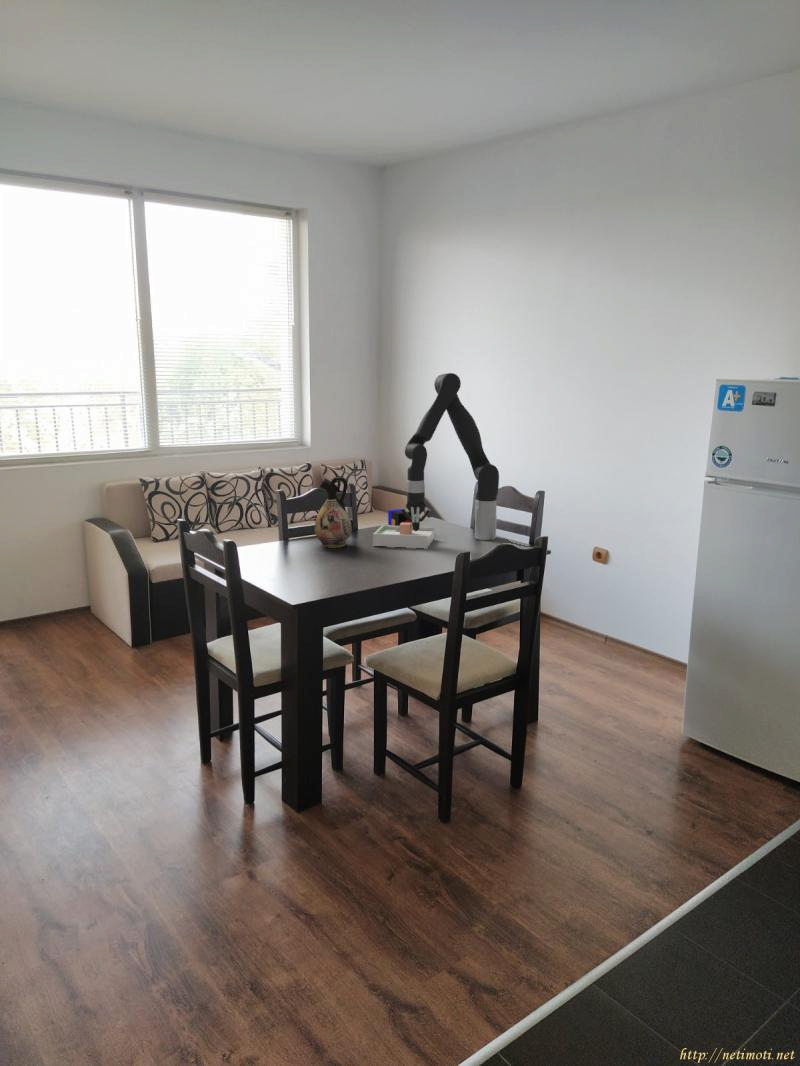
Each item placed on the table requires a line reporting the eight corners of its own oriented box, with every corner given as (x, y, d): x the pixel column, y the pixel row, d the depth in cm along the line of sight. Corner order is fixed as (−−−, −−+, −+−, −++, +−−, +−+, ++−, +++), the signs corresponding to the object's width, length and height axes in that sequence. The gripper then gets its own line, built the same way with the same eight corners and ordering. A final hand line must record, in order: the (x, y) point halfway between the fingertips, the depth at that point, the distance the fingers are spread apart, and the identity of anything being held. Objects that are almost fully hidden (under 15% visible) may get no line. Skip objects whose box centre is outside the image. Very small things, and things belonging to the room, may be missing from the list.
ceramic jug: (313, 550, 316) (312, 478, 310) (316, 542, 331) (314, 473, 325) (355, 550, 317) (354, 478, 310) (355, 541, 332) (354, 473, 325)
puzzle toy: (388, 531, 352) (388, 510, 350) (407, 529, 357) (407, 508, 355) (398, 535, 344) (398, 513, 342) (417, 533, 348) (417, 511, 346)
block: (412, 532, 330) (411, 522, 329) (410, 535, 326) (410, 524, 325) (401, 532, 331) (401, 522, 330) (399, 534, 327) (399, 524, 326)
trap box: (433, 539, 336) (433, 527, 335) (426, 548, 318) (427, 536, 317) (382, 537, 340) (382, 525, 339) (373, 546, 323) (373, 533, 322)
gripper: (432, 489, 326) (432, 529, 329) (402, 488, 328) (402, 528, 332) (430, 492, 318) (430, 533, 322) (398, 491, 321) (399, 532, 325)
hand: (416, 530), depth 327 cm, fingers closed
